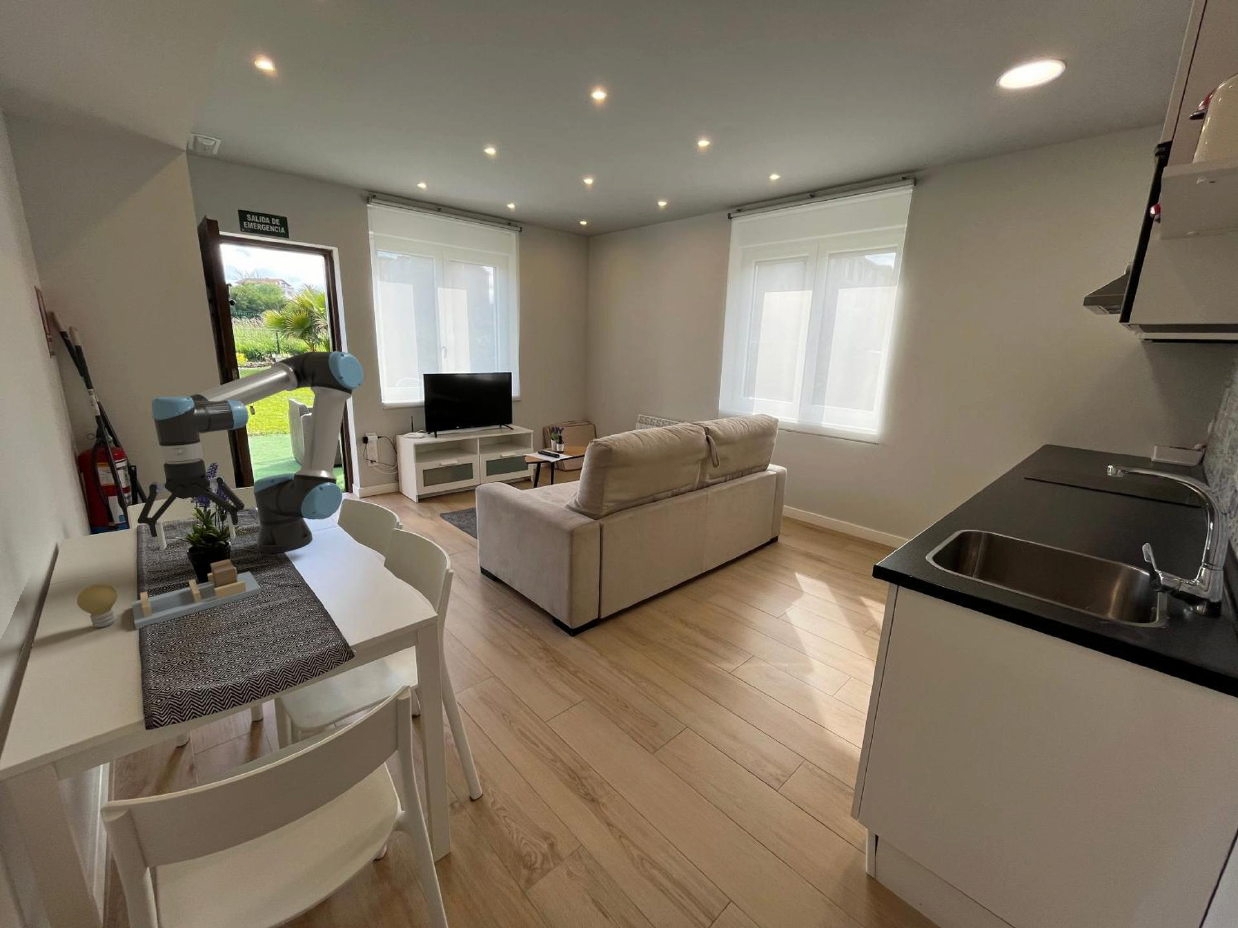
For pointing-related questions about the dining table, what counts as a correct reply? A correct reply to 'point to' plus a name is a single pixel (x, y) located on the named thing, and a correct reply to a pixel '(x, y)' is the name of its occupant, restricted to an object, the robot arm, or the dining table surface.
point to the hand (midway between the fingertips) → (199, 542)
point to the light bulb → (98, 603)
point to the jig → (191, 599)
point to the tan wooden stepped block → (223, 573)
